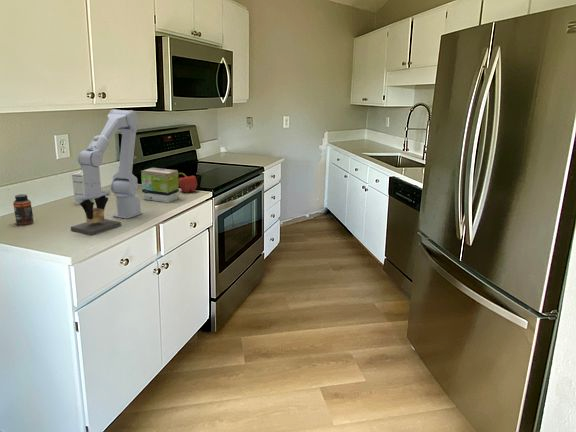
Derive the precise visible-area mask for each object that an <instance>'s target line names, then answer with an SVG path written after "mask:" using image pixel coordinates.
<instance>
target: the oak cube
mask: <svg viewBox="0 0 576 432" xmlns="http://www.w3.org/2000/svg"><path fill="white" fill-rule="evenodd" d="M85 219H86V220H85V221H86V222H92V223H97V222H100V221H104V219H105V209H100V208H97V207H93V219H88V218H87V215H86V214H85Z"/></svg>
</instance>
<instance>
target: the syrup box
mask: <svg viewBox="0 0 576 432" xmlns="http://www.w3.org/2000/svg"><path fill="white" fill-rule="evenodd" d="M71 179H72V180H71V181H72V188H73V194H74V198H75V197H79V196H81V195H83V194H84V193H85V188H84V179H83V171H78V172H74V173H72V174H71ZM90 201H91V202H95V200H94V199H92V200H90ZM74 203H75V204H76V205H80V204H79V203H76V200H75V199H74ZM80 206H81V205H80Z"/></svg>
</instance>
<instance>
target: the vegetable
mask: <svg viewBox="0 0 576 432" xmlns="http://www.w3.org/2000/svg"><path fill="white" fill-rule="evenodd" d="M180 175H182V176H184V177H178V183H179V188H180V190H181V191H182V192H183V193H190V192H194V191H196V189H197V187H198V182H197V177H196V176H195V175H190V176H189V175H188V176H187V175H186V174H185V173H183V172H178V176H180Z"/></svg>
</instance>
